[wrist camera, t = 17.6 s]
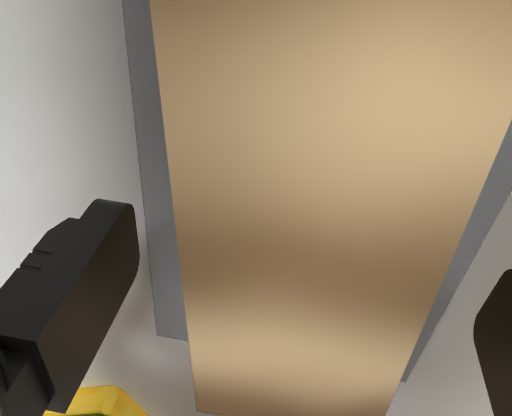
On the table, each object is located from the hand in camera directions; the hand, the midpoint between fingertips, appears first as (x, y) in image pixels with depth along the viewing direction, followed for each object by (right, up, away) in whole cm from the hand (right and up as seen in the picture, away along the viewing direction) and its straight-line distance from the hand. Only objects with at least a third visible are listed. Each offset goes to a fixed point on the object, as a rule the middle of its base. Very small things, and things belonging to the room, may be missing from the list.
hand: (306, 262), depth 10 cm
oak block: (0, +2, +2) cm, 3 cm away
